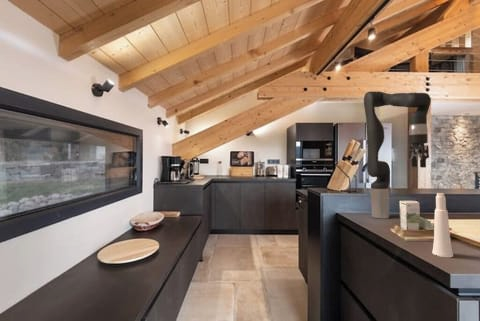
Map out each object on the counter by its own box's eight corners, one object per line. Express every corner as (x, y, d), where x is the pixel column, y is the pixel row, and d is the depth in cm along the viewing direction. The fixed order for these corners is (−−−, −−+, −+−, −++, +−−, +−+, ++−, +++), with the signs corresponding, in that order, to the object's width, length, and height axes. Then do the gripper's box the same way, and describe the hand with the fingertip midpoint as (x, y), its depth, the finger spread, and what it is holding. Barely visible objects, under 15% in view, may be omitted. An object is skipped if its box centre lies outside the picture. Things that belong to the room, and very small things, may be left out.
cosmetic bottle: (442, 251, 97) (439, 192, 97) (458, 256, 91) (455, 194, 91) (427, 252, 96) (425, 192, 96) (443, 258, 90) (440, 194, 90)
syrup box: (413, 231, 120) (412, 199, 120) (420, 235, 114) (419, 201, 114) (400, 231, 121) (399, 200, 121) (406, 235, 115) (405, 202, 115)
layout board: (390, 230, 127) (389, 223, 127) (428, 230, 124) (428, 223, 124) (406, 240, 110) (406, 232, 110) (451, 241, 108) (451, 233, 108)
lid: (416, 224, 121) (415, 216, 121) (438, 224, 120) (438, 217, 120) (427, 230, 112) (427, 221, 112) (452, 230, 111) (451, 221, 111)
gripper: (434, 132, 120) (435, 167, 120) (419, 134, 134) (419, 166, 134) (416, 133, 121) (417, 168, 121) (403, 135, 135) (403, 166, 135)
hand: (418, 167), depth 128 cm, fingers open, 8 cm apart
